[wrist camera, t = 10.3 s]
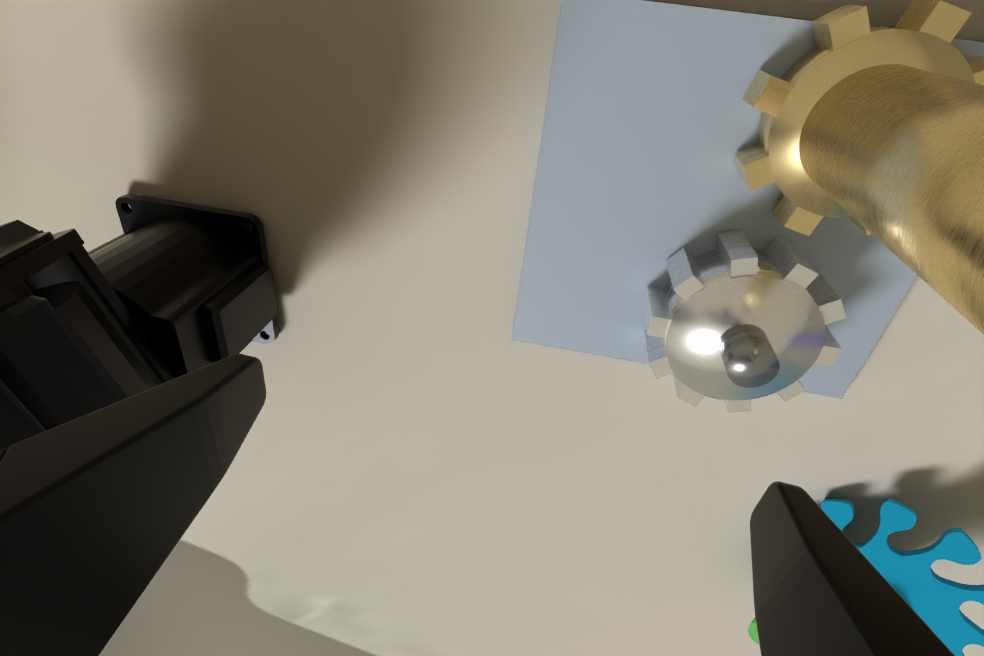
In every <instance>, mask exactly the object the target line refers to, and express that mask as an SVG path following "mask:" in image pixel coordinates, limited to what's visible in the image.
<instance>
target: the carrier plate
mask: <svg viewBox="0 0 984 656" xmlns="http://www.w3.org/2000/svg"><path fill="white" fill-rule="evenodd" d="M950 44H951V45H953V46H954V47H955V48H956V49H957V50H958V51H959V52H960V53H961V54H962V55H963V56H964V57H965V59H967V58H970V57H972V56H980V57H984V42H979V41H971V40H963V39H955V38H953V40H952V41H951V42H950ZM814 47H816V44H815V38H814V33H813V28H812V23H811V21H808V20H800V19H792V18H784V17H776V16H768V15H760V14H751V13H743V12H735V11H727V10H719V9H711V8H703V7H695V6H686V5H678V4H670V3H662V2H654V1H646V0H562V4H561V11H560V18H559V24H558V31H557V38H556V45H555V51H554V58H553V65H552V71H551V78H550V85H549V92H548V98H547V105H546V112H545V119H544V125H543V132H542V139H541V145H540V152H539V159H538V166H537V172H536V179H535V186H534V192H533V199H532V206H531V213H530V219H529V226H528V233H527V240H526V246H525V253H524V260H523V266H522V273H521V280H520V287H519V293H518V300H517V307H516V314H515V320H514V327H513V334H512V340H515V341H520V342H526V343H531V344H537V345H543V346H548V347H554V348H560V349H565V350H571V351H576V352H582V353H588V354H593V355H599V356H604V357H610V358H616V359H621V360H627V361H633V362H638V363H644V364H649V361H648V354H647V347H646V340H645V333H644V330H646V327H645V320H644V313H643V307H642V302H643V299H644V296H645V292H646V289H647V286H648V287H655V288H661V289H664V288H665V287H666V285H667V283H668V282H669V280H670V275H669V271H668V267H667V263H666V260H667V259H669V258H670V257H671V256H673V255H674V254H675V253H676V252H678V251H679V250H680V249H682V248H683V247H684V248H685V249H686V250H687V251H688V252H689V253H690V254H691V255H692V256H693V257H694V258H696V257H698V256H700V255H702V254H704V253H707V252H710V251H712V250H716V249H718V233H722V232H730V231H738V230H742V231H743V233H744V235H745V236H746V238H747V240H748V241H749V243H750V245H751V246H752V247H753V248H758V249H762V250H766V249H767V247H768V246H769V245H770V244H771V243H772V241H773V240H774V239H775V238H776V237H777V236H779V237H781V238H783V239H785V240H787V241H789V242H791V243H793V244H795V245H797V247H798V248H799V249H800V250H801V252H802V253H803V254H804V256H805V257H806V258H807V259H808V261H809V262H810V263H811V265H812V266H813V267H814V268H815V269H816V268H817V269H818V271H819V272H820V273H821V274H822V276H823V277H824V278H825V279H826V281H827V282H828V283H829V285H830V286H831V287H832V288H833V290H834V291H835V292H836V293H837V295H838V296H839V297H840V298H841V301H842V304H843V308H844V311H845V315H846V318H845V319H842V320H839V321H836V322H833V323H830V324H826V326H827V328H828V329H829V331H830V332H831V333H832V335H833V336H834V338H835V339H836V341H837V342H838V344H839V345H840V347H841V348H842V350H841V351H840V353H839V355H838V357H837V358H836V360H835V362H834V364H833V365H832V367H828V366H822V365H816V364H813V365H812V367H811V368H810V369H809V370H808V371H807V372H806V373H805V374H804V375H803V376H802V377H801V378H800V380H801V382H802V384H803V386H804V388H805V390H806V391H805V392H807V393H812V394H818V395H824V396H829V397H835V398H841V399H842V398H843V396H844V395H845V393H846V391H847V390H848V388H849V386H850V385H851V383H852V382H853V380H854V378H855V377H856V375H857V373H858V372H859V370H860V369H861V367H862V365H863V364H864V362H865V360H866V359H867V357H868V356H869V354H870V352H871V351H872V349H873V347H874V346H875V344H876V342H877V341H878V339H879V338H880V336H881V334H882V333H883V331H884V329H885V328H886V326H887V325H888V323H889V321H890V320H891V318H892V316H893V315H894V313H895V312H896V310H897V308H898V307H899V305H900V303H901V302H902V300H903V298H904V297H905V295H906V294H907V292H908V290H909V289H910V287H911V285H912V284H913V282H914V281H915V279H916V277H917V276H918V275H917V274H916V273H915V272H914V271H913V270H911V269H910V268H909V267H908V266H907V265H906V264H905V263H904V262H903V261H901V260H900V259H899V258H898V257H897V256H896V255H895V254H894V253H893V252H891V251H890V250H889V249H888V248H887V247H886V246H885V245H884V244H883V243H881V242H880V241H879V240H878V239H877V238H876V237H875V236H874V235H872V234H870V235H866V234H865V233H864V232H862V231H861V230H860V229H859V228H858V227H857V226H856V225H855V224H854V223H853V222H852V221H851V220H850V219H849V218H831V217H825V216H824V217H823V218H822V219H821V221H820V222H819V224H818V225H817V226H816V228H815V229H814V230H813V232H812V233H811V235H810V236H807V235H805V234H802V233H799V232H797V231H794V230H791V229H789V228H786V227H784V226H783V225H782V224H781V222H780V221H779V220H778V219H777V217H776V216H775V215H774V213H773V212H772V211H773V209H774V208H775V206H776V205H777V203H778V202H779V200H780V199H781V197H782V196H783V193H782V192H781V190H780V189H779V188H778V187H777V186H776V185H775V184H774V183H772V184H770V185H767V186H764V187H762V188H759V189H756V190H754V191H750V190H749V188H748V187H747V186H746V184H745V183H744V182H743V180H742V179H741V177H740V173H739V170H738V166H737V163H736V159H735V156H734V154H735V153H737V152H740V151H742V150H745V149H747V148H750V147H752V146H755V145H757V134H758V126H759V121H760V117H761V114H762V111H761V110H758V109H756V108H753V107H752V106H751V105H749V104H748V103H747V102H746V101H744V100H743V98H744V96H745V94H746V92H747V90H748V89H749V87H750V85H751V83H752V81H753V80H754V78H755V76H756V74H757V72H758V71H759V70H762V71H765V72H767V73H770V74H772V75H775V76H777V77H780V78H781V77H782V76H783V75H784V74H785V72H786V71H787V70H788V69H789V68H790V67H791V66H792V65H793V64H794V63H795V62H796V61H797V60H798V59H800V58H801V57H802V56H803V55H805V54H806V53H807V52H808V51H810V50H811V49H813V48H814ZM649 365H650V364H649Z"/></svg>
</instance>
